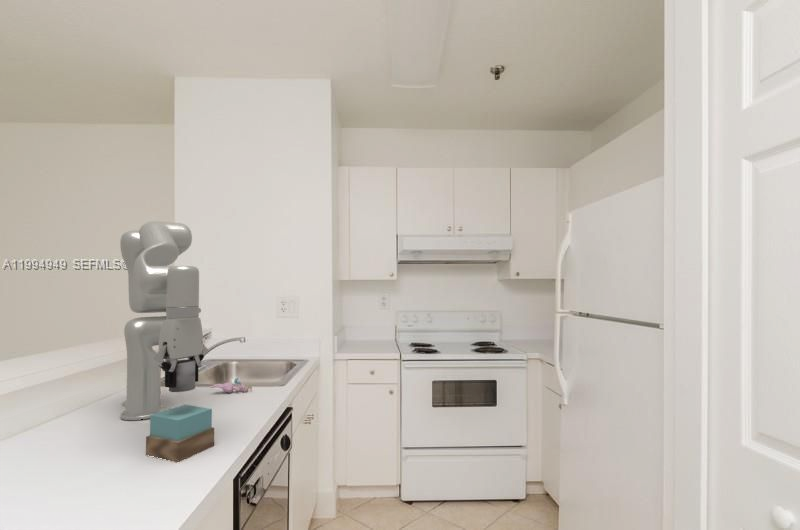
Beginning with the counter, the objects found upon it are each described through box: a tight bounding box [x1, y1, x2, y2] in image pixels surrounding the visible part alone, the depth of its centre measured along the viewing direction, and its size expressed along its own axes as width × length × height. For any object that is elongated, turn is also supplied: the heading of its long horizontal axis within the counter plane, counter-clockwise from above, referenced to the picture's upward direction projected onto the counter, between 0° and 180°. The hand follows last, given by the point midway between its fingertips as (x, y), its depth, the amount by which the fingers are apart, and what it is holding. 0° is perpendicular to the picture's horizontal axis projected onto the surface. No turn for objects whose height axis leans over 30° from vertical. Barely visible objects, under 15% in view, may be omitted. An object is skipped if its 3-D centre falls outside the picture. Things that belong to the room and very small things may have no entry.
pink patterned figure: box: [210, 377, 253, 394], centre depth 165 cm, size 6×6×15 cm
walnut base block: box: [145, 427, 215, 463], centre depth 108 cm, size 11×11×5 cm
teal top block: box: [149, 404, 213, 441], centre depth 109 cm, size 10×10×5 cm
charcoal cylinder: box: [168, 359, 196, 393], centre depth 109 cm, size 6×6×7 cm
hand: (182, 383), depth 108 cm, fingers closed on charcoal cylinder, 6 cm apart
